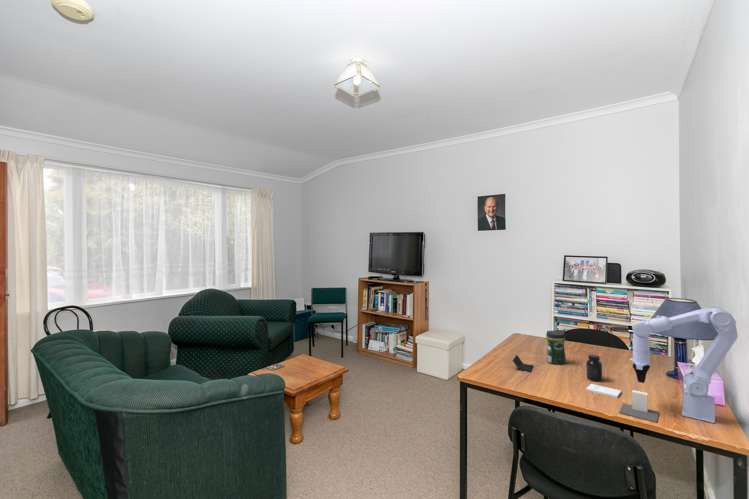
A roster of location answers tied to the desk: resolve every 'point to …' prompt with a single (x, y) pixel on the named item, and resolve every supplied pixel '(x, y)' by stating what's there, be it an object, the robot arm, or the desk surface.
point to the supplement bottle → (594, 368)
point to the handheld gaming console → (522, 365)
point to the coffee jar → (556, 347)
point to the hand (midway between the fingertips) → (641, 382)
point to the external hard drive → (604, 390)
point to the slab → (640, 401)
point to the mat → (639, 413)
